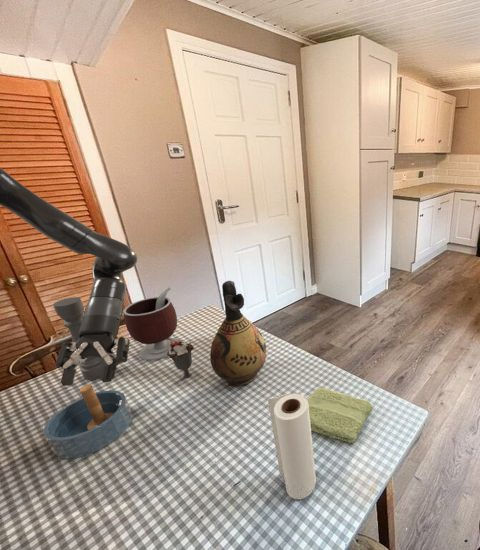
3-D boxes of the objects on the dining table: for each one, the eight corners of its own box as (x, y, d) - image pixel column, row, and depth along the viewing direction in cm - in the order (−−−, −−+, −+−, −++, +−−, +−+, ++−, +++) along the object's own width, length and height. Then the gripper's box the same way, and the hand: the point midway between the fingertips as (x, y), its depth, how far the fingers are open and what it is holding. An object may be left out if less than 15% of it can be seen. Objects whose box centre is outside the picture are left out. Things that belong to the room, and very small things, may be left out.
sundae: (169, 382, 90) (156, 340, 84) (189, 368, 95) (177, 327, 90) (186, 388, 88) (173, 344, 82) (205, 373, 93) (194, 332, 88)
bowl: (37, 468, 66) (24, 446, 63) (79, 415, 79) (70, 396, 76) (115, 453, 69) (105, 432, 66) (143, 405, 82) (136, 386, 79)
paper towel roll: (321, 489, 61) (313, 409, 53) (292, 507, 58) (279, 424, 50) (307, 461, 67) (298, 384, 59) (280, 475, 64) (267, 397, 56)
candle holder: (106, 364, 98) (78, 294, 88) (113, 372, 94) (84, 300, 85) (81, 375, 93) (49, 302, 84) (87, 383, 90) (54, 309, 80)
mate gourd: (156, 365, 97) (138, 311, 89) (127, 356, 101) (107, 303, 94) (196, 339, 110) (184, 290, 103) (169, 332, 115) (155, 284, 107)
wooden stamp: (83, 435, 72) (65, 397, 68) (97, 417, 77) (81, 381, 73) (107, 431, 73) (91, 394, 69) (120, 414, 78) (105, 378, 73)
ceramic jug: (276, 379, 91) (263, 289, 79) (221, 402, 83) (198, 304, 71) (260, 351, 104) (246, 270, 92) (211, 368, 96) (189, 281, 84)
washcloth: (317, 390, 87) (316, 381, 85) (374, 408, 80) (374, 399, 79) (289, 425, 75) (288, 415, 74) (353, 450, 69) (353, 440, 68)
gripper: (59, 315, 74) (39, 386, 67) (123, 311, 76) (109, 379, 69) (83, 323, 80) (66, 387, 74) (141, 319, 82) (129, 381, 76)
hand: (87, 383), depth 72 cm, fingers open, 8 cm apart
